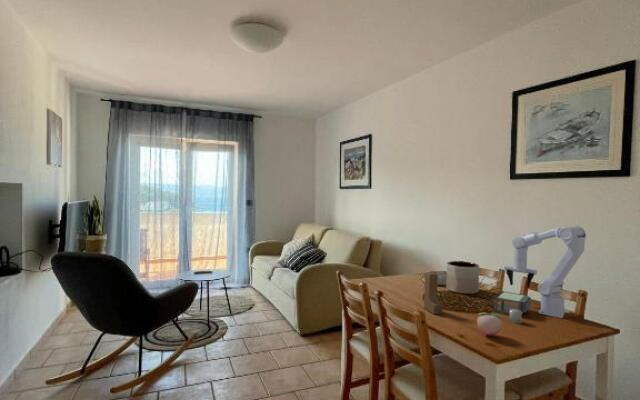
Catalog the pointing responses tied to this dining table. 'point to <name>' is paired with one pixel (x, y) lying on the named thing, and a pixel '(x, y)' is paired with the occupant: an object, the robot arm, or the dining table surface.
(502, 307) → the trapdoor frame
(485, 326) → the decorative fruit
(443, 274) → the tin
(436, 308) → the grey upright bracket
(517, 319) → the stone
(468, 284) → the planter
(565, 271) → the robot arm
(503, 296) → the trapdoor
